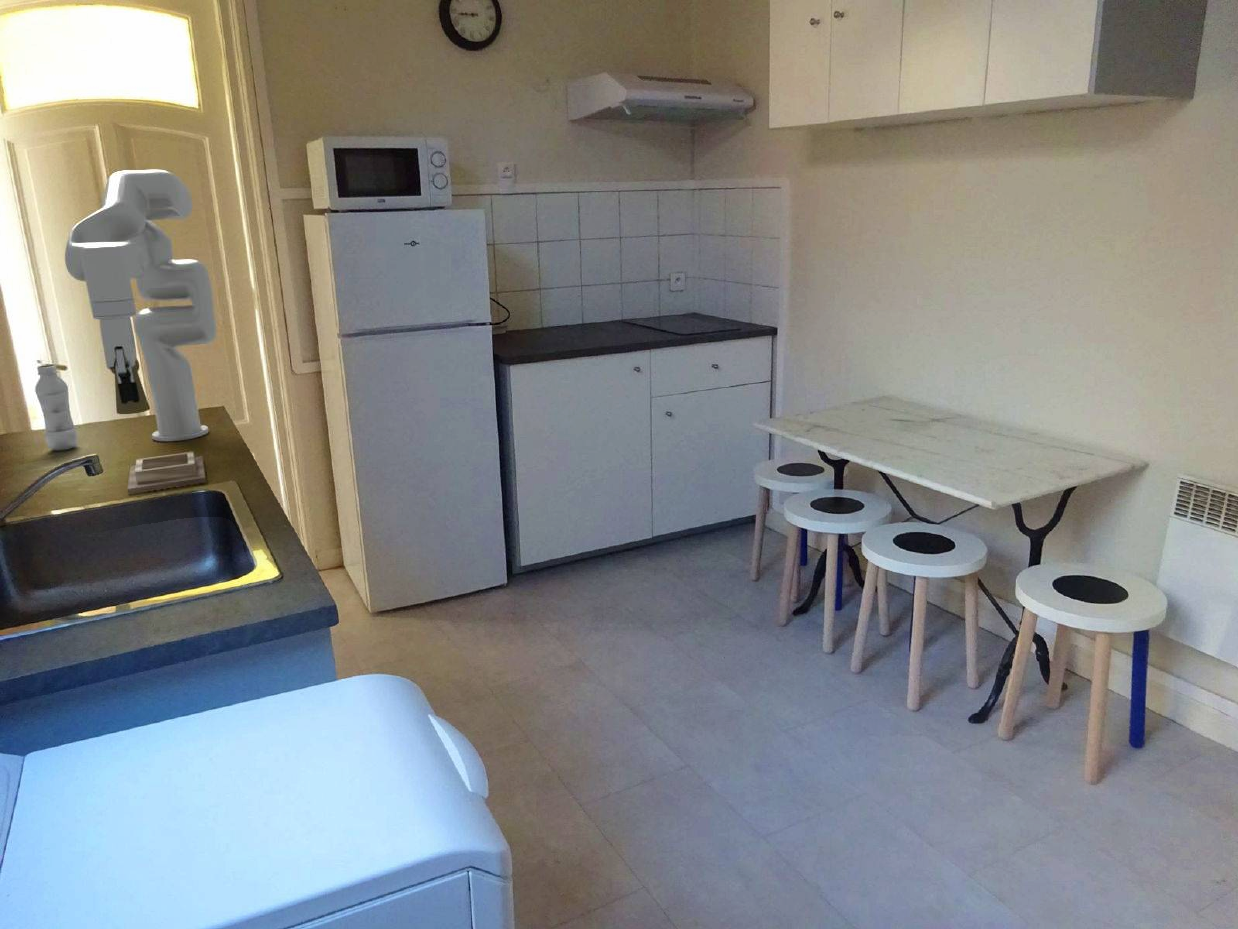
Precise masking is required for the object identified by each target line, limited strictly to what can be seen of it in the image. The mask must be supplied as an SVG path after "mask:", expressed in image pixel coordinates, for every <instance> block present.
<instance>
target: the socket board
mask: <svg viewBox="0 0 1238 929" xmlns="http://www.w3.org/2000/svg"><path fill="white" fill-rule="evenodd" d="M194 454H195V453H194V451H187V452H180V453H174V454H172V453H171V454H167V455H158V456H150V457H144V458H143V457H142V458H136V460H135V465H131V466H130V468H129V469H130V470H129V477H128V483H127V492H128V495H129V494H130V495H135V494H134V493H137V494H142V493H149V492H148V491H150V492H154V491H153V490H157V491H161V489H163V490H167V489H166V488H170V489H172V488H171V487H176V486H184V487H187V486H186V485H190V486H192V485H191V484H197V485H199V484H198V483H204V484H207V481H206V473H205V466H204V459H203V456H195V455H194Z"/></svg>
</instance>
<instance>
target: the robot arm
mask: <svg viewBox="0 0 1238 929" xmlns="http://www.w3.org/2000/svg"><path fill="white" fill-rule="evenodd" d="M192 211H193V198H192V195H191V192H190V190H189V188H188V187H187V185H186V184H185V183H184V182H183V181H182V179H180V178H179V177H178V176H176V175H175V174H173V173H172V172H170V171H166V170H163V169H145V170H142V169H141V170H122V171H121V170H120V171H117V172H114V173H112V174H110V175H109V177H108V178H107V181H106V183H105V187H104V192H103V197H102V202H101V206H100V209H99V210H96V211H94V212H93V213H92V214H90V215H87V217H85V218H83V219H82V220H81V221H79V222H78V223H77V224H75V225H74V226H73V227H72V228H71V230H70V232H69V234H68V236H67V241H66V244H65V252H64V263H65V267H66V270H67V272H68V273H69V275H70V276H71V277H73V279H75V280H77V281H80V282H85V283H86V288H87V289H86V290H87V294H88V299H89V304H90V309H91V313H92V318H93V319H94V320H99V327H100V334H101V335H100V336H101V342H102V346H103V352H104V358H105V365H106V368H107V369H108V370H110V371H111V369H112V368H111V367H113V366H114V362H115V367H116V372H117V378H118V383H119V384H118V388H119V393H120V398H121V402H122V403H123V404H126V403H127V402H128V401H133V402H134V403H135V402H139V400H140V399H139V394H138V389H137V384H136V382H134V376H133V370H132V367H134V366H135V361H136V359H137V358H138V357H137V348H136V341H135V335H134V332H135V333H136V336H137V340H138V342H139V345H140V348H141V351H142V354H143V357H144V362H145V366H146V371H147V372H146V373H147V378H148V382H149V383H148V384H149V388H150V393H151V399H152V400H151V401H152V404H153V409H154V410H153V411H154V414H155V420H156V425H157V430H156V431H154V432H153V433H152V434H151V438H152V440H155V441H158V442H177V441H186V440H191V439H195V438H198V437H202V436H204V435H207V434H208V433H209V427H208V426H207V425H204V424H201V418H200V414H199V408H198V403H197V402H198V401H197V396H196V391H195V386H194V378H193V373H192V372H193V371H192V367H191V363H190V362H189V360H188V358H187V357H186V356H185V355H184V353H182V352H181V351H180V350H179V349H177V347H182V346H198V345H199V346H201V345H207V344H211V343H213V342H214V341H215V339H216V335H217V324H216V316H215V308H214V300H213V292H212V285H211V279H210V275H209V272H208V270H207V266H205V264H204V263H203V262H201V261H200V260H196V259H174V254H173V246H172V241H171V239H170V237H169V236H168V234H166V233H165V231H163V229H162V228H161V227H159V225H157V224H155V222H153V221H160V220H161V221H162V220H166V221H167V220H184V219H187V218H188V217H189V216H191V213H192ZM131 280H135V282H136V283H135V284H136V288H137V292H138V293H139V294H138V295H139V296H140V297H141V298H142V299H143V300H145V301H148V302H175V301H177V302H178V301H179V302H180V301H189V302H191V305H190V304H188V305H166V306H164V305H163V306H153V307H152V306H151V307H147V308H143V309H141V310H139V311H137V310H136V304H135V300H134V293H133V288H132V283H131ZM132 317H134V319H133V324H132V320H131V318H132ZM133 326H134V330H133ZM137 360H138V359H137ZM128 363H129V367H126V365H125V364H128ZM127 370H129V372H128V371H127Z"/></svg>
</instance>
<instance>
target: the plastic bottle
mask: <svg viewBox="0 0 1238 929" xmlns="http://www.w3.org/2000/svg"><path fill="white" fill-rule="evenodd" d="M36 369H37V375H38V376H40V377H39V378H38V381H37V382H36V384H35V387H34V388H35V389H34V392H35V394H36V397H37V400H38V402H39V405H40V408H41V412H42V416H43V420H44V427H45V428H44V429H45V433H44V434H45V435H44V436H45V437H44V438H45V443H46V445H47V447H48V448H49V449H50V450H51V451H67V450H70V449H73V448H75V447H77V446H78V443H80V442H79V434H78V430H77V429H76V428H75V425H74V424H75V423H74V422H73V418H72V415H71V410H70V402H69V400H70V398H69V386H68V384H67V383H66V382H65V380H64V379H62V378H61V377H60V376H59V375H58V373H59V371H58V369H57V366H56V364H44V365H43V364H42V365H40V366H37V367H36Z"/></svg>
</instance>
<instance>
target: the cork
mask: <svg viewBox="0 0 1238 929" xmlns="http://www.w3.org/2000/svg"><path fill="white" fill-rule="evenodd" d="M125 365H126V367H129V363H128V364H125ZM111 368H112V369H111V370H110V372H111V373H112V374H113V375H114V387H115V389H114V390H115V391H114V392H115V406H116V407H115V408H116V414H119V415H134V414H139V413H144V412H145V413H146V412H147V411H149V410H150V409H151V407H150V405H149V402H148V398H147V396H146V393H145V390H144V387H143V384H142V381H141V377H140V375H139V373H138V372H139V370H140V362H139V360H138V359H136V361H135V366H134V367H132V370H133V376H134V382H136V384H137V389H138V394H139V399H140V400H139V402H135V403H134V402H133V401H128V402H127V403H126V404H123V403H122V402H121V398H120V393H119V388H118V384H119V383H118V378H117V372H116V367H115V362H114V366H113V367H111ZM127 371H128V372H129V370H127Z"/></svg>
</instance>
